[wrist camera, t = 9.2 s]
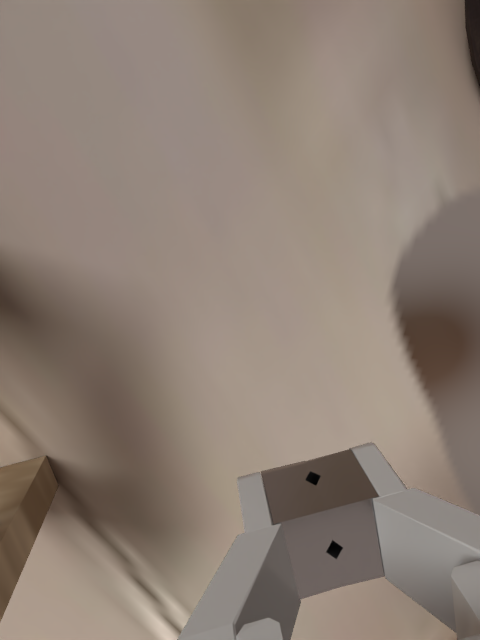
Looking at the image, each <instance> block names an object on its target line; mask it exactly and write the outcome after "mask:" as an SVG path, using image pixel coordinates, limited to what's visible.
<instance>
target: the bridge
mask: <svg viewBox="0 0 480 640" xmlns="http://www.w3.org/2000/svg"><path fill="white" fill-rule="evenodd" d="M57 488H58V483H57V481H56V478H55V476H54V474H53V471H52V469H51V466H50V464H49V462H48V459H47V457H46V456H43V457H39V458H35V459H31V460H28V461H24V462H20V463H16V464H12V465H8V466H5V467H1V468H0V621H1V619H2V617H3V614H4V612H5V610H6V607H7V605H8V603H9V600H10V598H11V596H12V593H13V591H14V589H15V586H16V584H17V582H18V579H19V577H20V575H21V572H22V570H23V568H24V565H25V563H26V561H27V558H28V556H29V554H30V551H31V549H32V547H33V544H34V542H35V540H36V537H37V535H38V533H39V530H40V528H41V526H42V523H43V521H44V519H45V516H46V514H47V512H48V509H49V507H50V505H51V502H52V500H53V498H54V495H55V493H56V491H57Z"/></svg>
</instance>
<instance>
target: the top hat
mask: <svg viewBox="0 0 480 640" xmlns="http://www.w3.org/2000/svg"><path fill="white" fill-rule="evenodd" d="M465 17H466V31H467V37H468V43H469V49H470V55H471V61H472V65H473V68H474V70H475V73H476V76H477V79H478V82H479V85H480V0H465Z"/></svg>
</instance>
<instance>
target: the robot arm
mask: <svg viewBox="0 0 480 640" xmlns="http://www.w3.org/2000/svg"><path fill="white" fill-rule="evenodd" d="M261 475H262V477H261ZM262 479H263V481H262ZM263 484H264V485H263ZM237 485H238V492H239V498H240V505H241V511H242V518H243V525H244V531H245V533H243V534H239V535H238V536H237V537H236V539H235V541H234V542H233V544H232V546H231V548H230V549H229V551H228V553H227V555H226V556H225V558H224V560H223V561H222V563H221V565H220V567H219V568H218V570H217V572H216V573H215V575H214V577H213V579H212V580H211V582H210V584H209V586H208V587H207V589H206V591H205V592H204V594H203V596H202V598H201V599H200V601H199V603H198V605H197V606H196V608H195V610H194V611H193V613H192V615H191V617H190V618H189V620H188V622H187V623H186V625H185V627H184V629H183V630H182V632H181V634H180V636H179V637H178V639H177V640H290V639H291V635H292V632H293V628H294V625H295V621H296V617H297V614H298V610H299V607H300V603H301V601H300V599H303V598H306V597H309V596H313V595H316V594H319V593H322V592H326V591H329V590H332V589H335V588H339V587H342V586H346V585H351V584H355V583H359V582H363V581H367V580H371V579H375V578H380V577H384V576H385V578H386V579H387V580H388V581H390V582H391V583H392V584H393V585H395V586H396V587H397V588H399V589H400V590H401V591H402V592H404V593H405V594H406V595H408V596H409V597H410V598H412V599H413V600H414V601H415V602H417V603H418V604H419V605H421V606H422V607H423V608H425V609H426V610H427V611H428V612H430V613H431V614H432V615H434V616H435V617H436V618H438V619H439V620H440V621H441V622H443V623H444V624H445V625H447V626H448V627H449V628H450V629H452V630H453V631H454V632H456V633H457V640H480V515H478V514H476V513H473V512H471V511H469V510H466V509H464V508H462V507H459V506H457V505H454V504H452V503H450V502H447V501H445V500H443V499H440V498H438V497H435V496H433V495H431V494H428V493H426V492H423V491H421V490H419V489H416V488H412V489H407V488H406V487H405V485H404V484H403V482H402V481H401V480H400V478H399V477H398V475H397V474H396V473H395V471H394V470H393V469H392V467H391V466H390V464H389V463H388V462H387V460H386V459H385V457H384V456H383V455H382V453H381V452H380V450H379V449H378V448H377V446H376V445H375V444H374V443H372V442H370V443H366V444H363V445H359V446H356V447H353V448H349V450H345V451H341V452H338V453H334V454H330V455H326V456H323V457H319V458H315V459H312V460H308V461H302V462H298V463H294V464H290V465H285V466H281V467H277V468H273V469H269V470H264V471H261V473H260V472H257V473H253V474H249V475H245V476H241V477H238V478H237Z"/></svg>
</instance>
